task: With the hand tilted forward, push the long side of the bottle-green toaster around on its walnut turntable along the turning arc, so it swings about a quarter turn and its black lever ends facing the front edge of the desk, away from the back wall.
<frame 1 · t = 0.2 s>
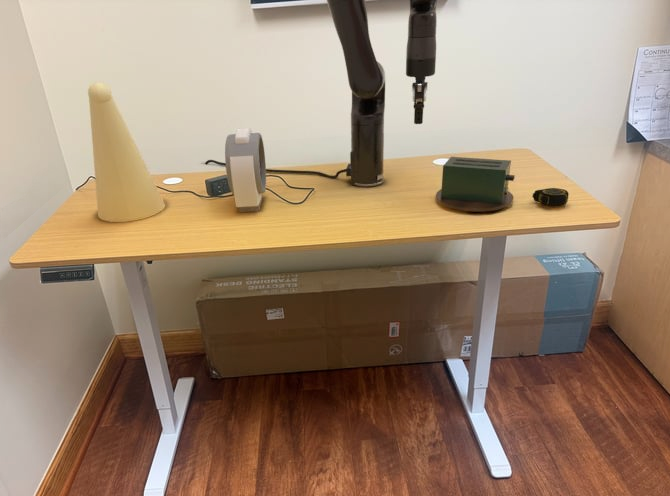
hand: (418, 120, 145), 18 cm above the table, tool pointing down, fingers open, 8 cm apart
alarm clock: (251, 205, 146), on the table
tape measure: (548, 205, 132), on the table
cone light: (131, 214, 146), on the table
toaster: (475, 180, 135), point 6 cm above the table, hinge at 0.0°
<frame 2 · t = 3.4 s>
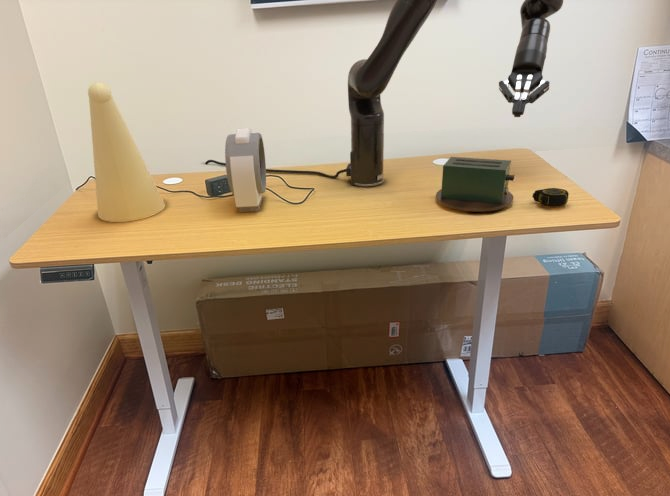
hand: (517, 115, 136), 19 cm above the table, tool tilted 45°, fingers closed
nothing on the table moved.
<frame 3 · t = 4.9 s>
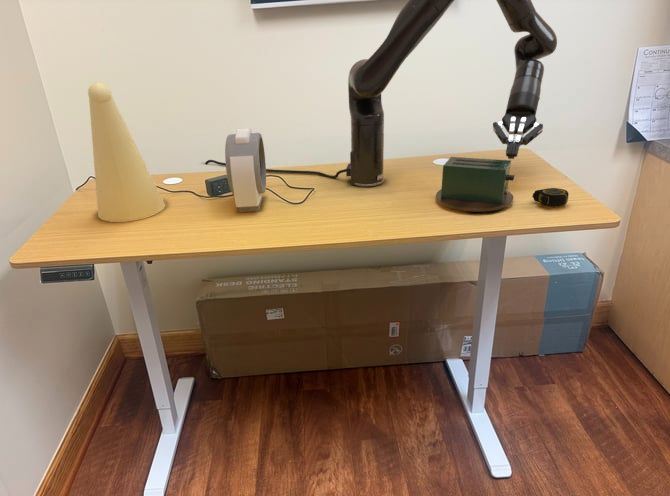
hand: (510, 157, 137), 10 cm above the table, tool tilted 45°, fingers closed
nothing on the table moved.
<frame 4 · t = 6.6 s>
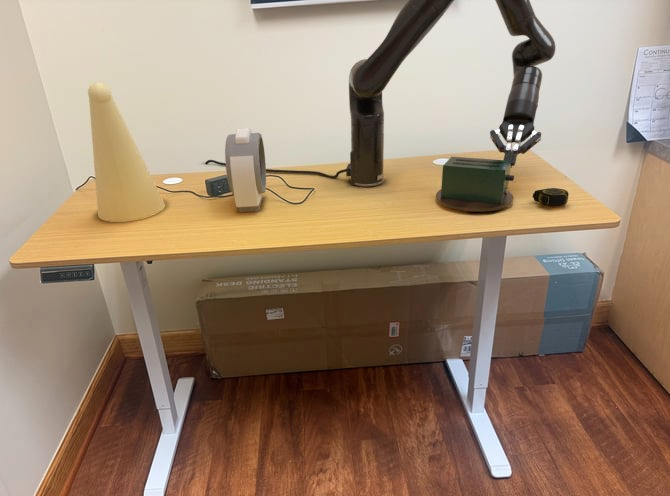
hand: (508, 166, 134), 8 cm above the table, tool tilted 45°, fingers closed
toaster: (475, 180, 135), point 6 cm above the table, hinge at 1.1°, touching gripper
everything else where it was.
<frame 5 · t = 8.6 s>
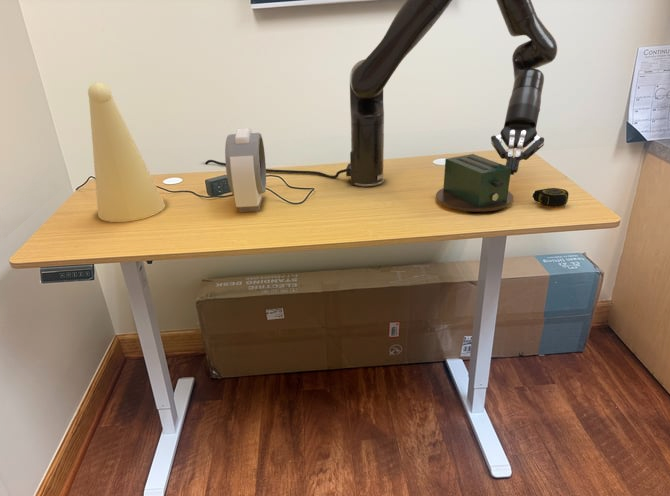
hand: (510, 173, 129), 8 cm above the table, tool tilted 45°, fingers closed
toaster: (475, 180, 135), point 6 cm above the table, hinge at 42.4°, touching gripper
everything else where it was.
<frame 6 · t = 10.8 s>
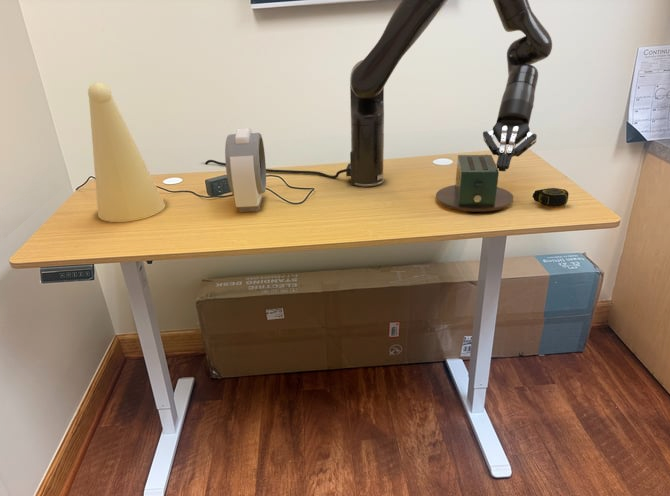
hand: (502, 169, 127), 10 cm above the table, tool tilted 45°, fingers closed
toaster: (475, 180, 135), point 6 cm above the table, hinge at 74.2°
everything else where it was.
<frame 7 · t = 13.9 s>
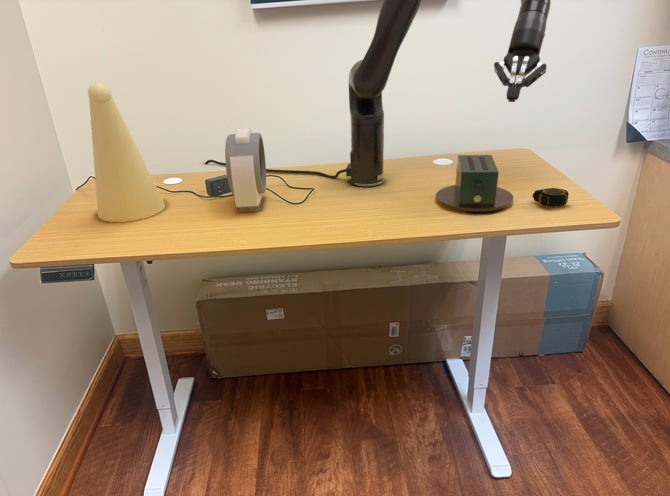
hand: (511, 100, 131), 23 cm above the table, tool tilted 40°, fingers closed
nothing on the table moved.
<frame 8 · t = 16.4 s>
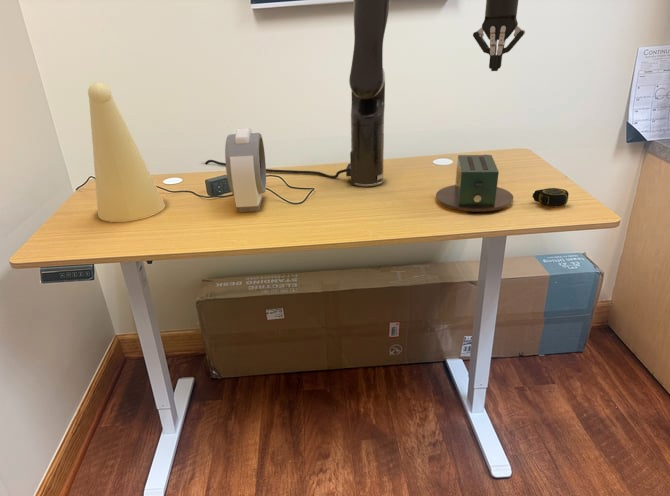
hand: (494, 70, 139), 29 cm above the table, tool pointing down, fingers closed
nothing on the table moved.
at the end: toaster at +74° (first picture: +0°); tape measure moved 0.2 cm from its start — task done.
